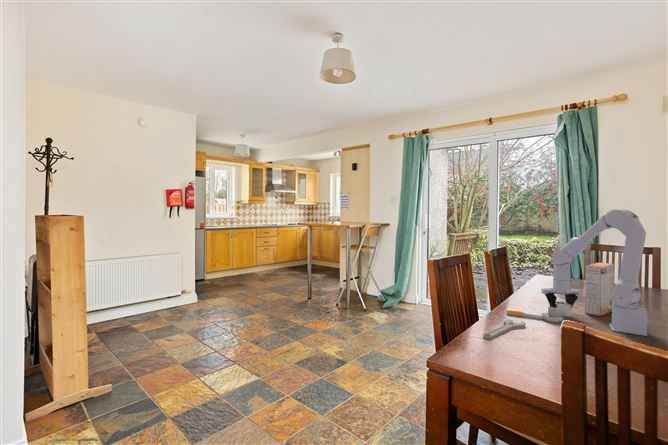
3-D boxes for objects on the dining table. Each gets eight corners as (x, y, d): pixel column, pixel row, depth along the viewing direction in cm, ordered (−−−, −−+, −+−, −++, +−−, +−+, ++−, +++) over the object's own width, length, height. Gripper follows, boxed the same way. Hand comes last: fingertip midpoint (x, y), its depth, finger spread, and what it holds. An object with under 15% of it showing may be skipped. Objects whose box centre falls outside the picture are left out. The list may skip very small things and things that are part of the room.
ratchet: (562, 319, 131) (563, 307, 131) (563, 324, 125) (563, 311, 125) (507, 311, 142) (508, 300, 141) (506, 315, 136) (506, 304, 135)
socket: (563, 313, 140) (564, 301, 140) (571, 316, 134) (571, 304, 134) (550, 312, 141) (550, 300, 140) (556, 316, 135) (557, 304, 135)
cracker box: (596, 308, 147) (598, 262, 146) (613, 311, 142) (615, 263, 141) (583, 313, 140) (584, 264, 139) (600, 317, 135) (602, 266, 134)
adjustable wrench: (489, 341, 110) (489, 336, 110) (472, 335, 115) (472, 330, 115) (528, 327, 123) (528, 322, 123) (511, 322, 129) (511, 318, 129)
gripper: (574, 277, 140) (573, 309, 140) (538, 276, 142) (537, 307, 142) (584, 281, 133) (583, 314, 133) (546, 280, 135) (545, 312, 135)
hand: (560, 311), depth 137 cm, fingers closed on socket, 5 cm apart
